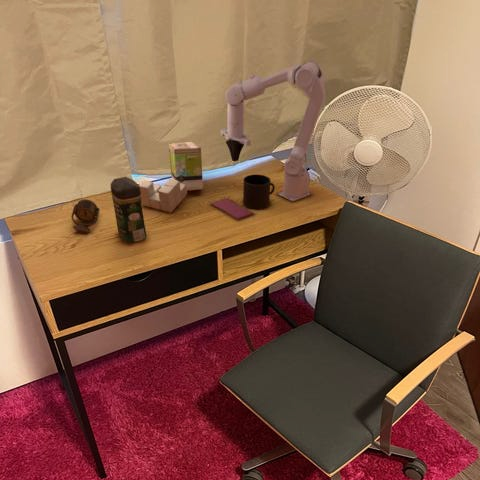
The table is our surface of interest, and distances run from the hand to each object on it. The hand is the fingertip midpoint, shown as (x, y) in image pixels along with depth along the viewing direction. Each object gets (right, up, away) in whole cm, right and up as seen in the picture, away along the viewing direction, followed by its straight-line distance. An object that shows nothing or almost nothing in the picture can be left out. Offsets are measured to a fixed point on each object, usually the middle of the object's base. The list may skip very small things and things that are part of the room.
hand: (235, 160), depth 175 cm
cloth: (-1, -20, -8) cm, 22 cm away
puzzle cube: (-25, -16, -6) cm, 30 cm away
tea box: (-18, -9, +4) cm, 20 cm away
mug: (+9, -17, -4) cm, 19 cm away
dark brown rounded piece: (-50, -27, -18) cm, 60 cm away
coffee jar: (-32, -33, -24) cm, 52 cm away
